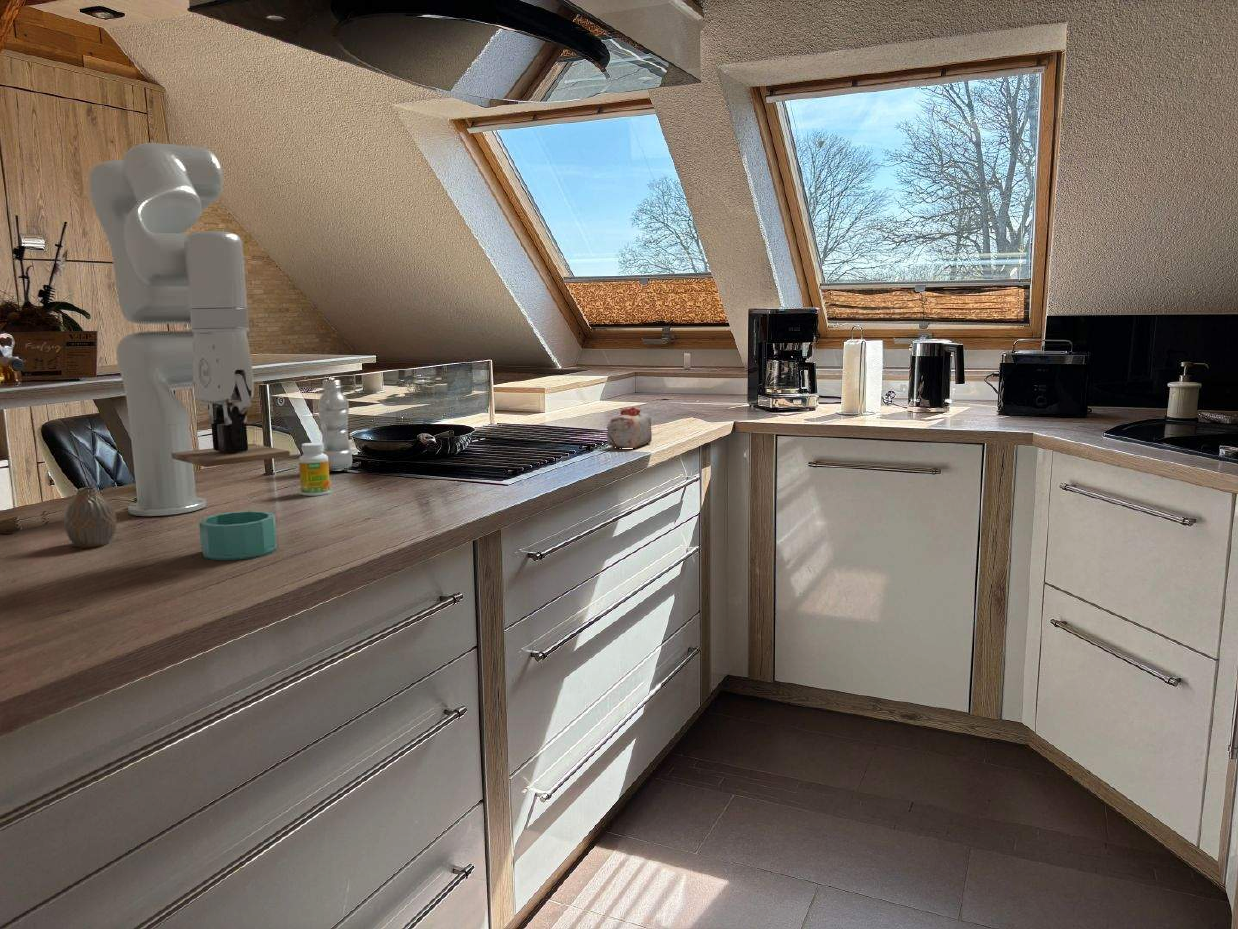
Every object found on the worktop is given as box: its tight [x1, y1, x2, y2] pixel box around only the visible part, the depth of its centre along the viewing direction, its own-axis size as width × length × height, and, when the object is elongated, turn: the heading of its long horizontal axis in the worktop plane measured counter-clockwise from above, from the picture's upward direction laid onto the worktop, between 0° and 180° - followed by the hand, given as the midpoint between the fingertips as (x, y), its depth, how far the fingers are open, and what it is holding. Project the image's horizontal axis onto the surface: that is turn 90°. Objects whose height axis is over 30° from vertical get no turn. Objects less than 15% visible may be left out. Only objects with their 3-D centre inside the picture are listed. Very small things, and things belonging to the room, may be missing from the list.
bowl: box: [198, 510, 277, 561], centre depth 139 cm, size 10×10×5 cm
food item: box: [606, 407, 653, 449], centre depth 238 cm, size 14×8×10 cm, turn 157°
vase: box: [63, 486, 117, 549], centre depth 144 cm, size 7×7×9 cm
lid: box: [172, 424, 291, 468], centre depth 136 cm, size 12×12×5 cm
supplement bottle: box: [298, 442, 331, 497], centre depth 182 cm, size 5×5×10 cm
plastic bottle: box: [317, 379, 353, 470], centre depth 207 cm, size 6×7×20 cm
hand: (230, 449), depth 137 cm, fingers closed on lid, 3 cm apart
